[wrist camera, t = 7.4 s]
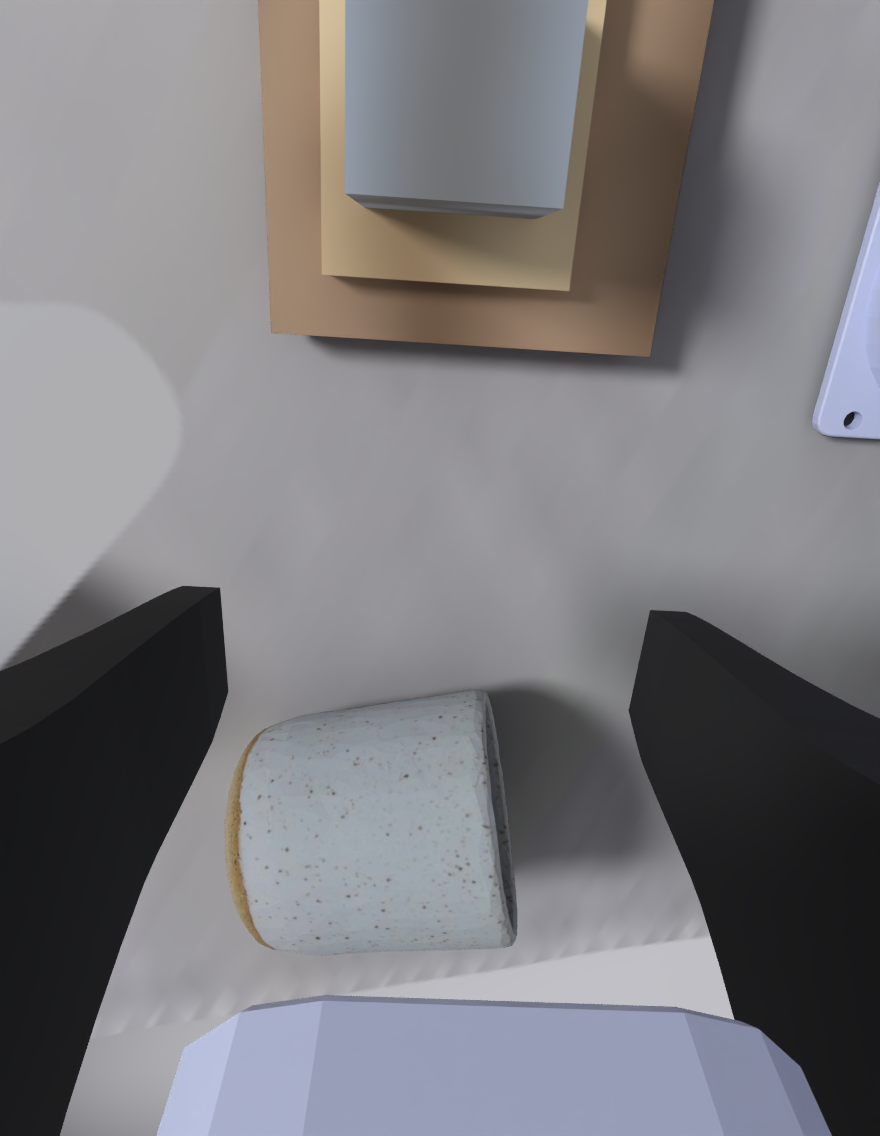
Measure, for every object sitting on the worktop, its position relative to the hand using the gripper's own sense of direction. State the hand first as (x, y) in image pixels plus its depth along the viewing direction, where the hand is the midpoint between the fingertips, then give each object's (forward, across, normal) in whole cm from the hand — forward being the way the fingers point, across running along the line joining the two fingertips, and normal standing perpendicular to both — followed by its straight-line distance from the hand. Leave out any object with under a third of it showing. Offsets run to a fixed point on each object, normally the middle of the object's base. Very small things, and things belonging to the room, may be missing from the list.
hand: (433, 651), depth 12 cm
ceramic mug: (+11, 0, +12) cm, 16 cm away
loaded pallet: (+9, 0, -9) cm, 13 cm away
